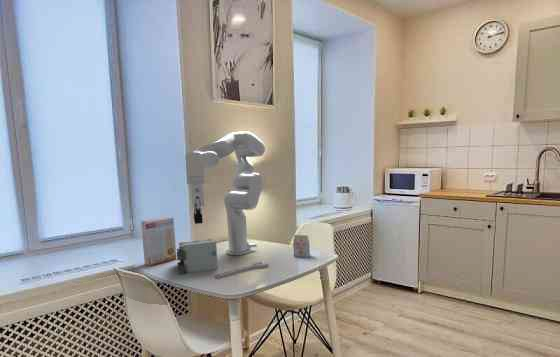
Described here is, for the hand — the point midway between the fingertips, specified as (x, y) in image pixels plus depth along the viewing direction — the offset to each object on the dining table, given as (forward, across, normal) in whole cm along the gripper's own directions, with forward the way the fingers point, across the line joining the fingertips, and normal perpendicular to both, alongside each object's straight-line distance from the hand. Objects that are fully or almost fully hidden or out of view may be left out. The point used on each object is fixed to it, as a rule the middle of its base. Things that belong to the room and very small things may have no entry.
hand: (198, 222), depth 148 cm
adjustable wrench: (+22, -9, -16) cm, 29 cm away
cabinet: (+21, +6, +2) cm, 22 cm away
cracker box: (+21, +22, +18) cm, 35 cm away
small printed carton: (+22, +1, -47) cm, 52 cm away
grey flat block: (+21, 0, 0) cm, 21 cm away
